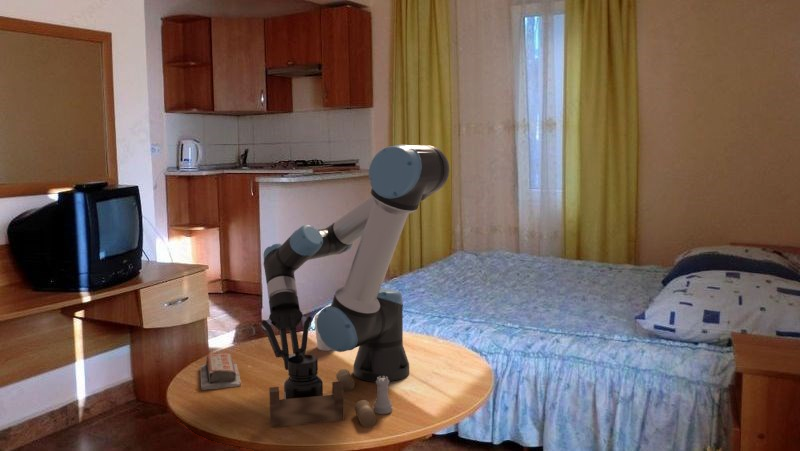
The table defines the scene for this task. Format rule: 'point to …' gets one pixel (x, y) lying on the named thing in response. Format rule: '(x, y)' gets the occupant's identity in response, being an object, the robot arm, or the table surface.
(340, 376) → the roller
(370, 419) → the roller
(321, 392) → the ink bottle
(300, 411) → the rail
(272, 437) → the table surface
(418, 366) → the table surface
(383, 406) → the rook chess piece
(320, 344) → the white cup
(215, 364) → the packaged product
